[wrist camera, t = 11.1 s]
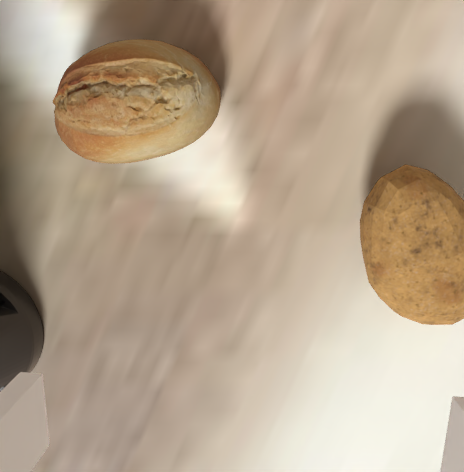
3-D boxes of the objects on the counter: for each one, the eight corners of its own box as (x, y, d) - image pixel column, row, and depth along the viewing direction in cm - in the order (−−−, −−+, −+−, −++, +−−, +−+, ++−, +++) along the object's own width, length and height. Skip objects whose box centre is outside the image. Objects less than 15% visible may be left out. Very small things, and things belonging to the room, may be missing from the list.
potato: (435, 144, 38) (478, 146, 30) (472, 283, 40) (521, 318, 33) (330, 181, 39) (346, 192, 31) (373, 313, 42) (397, 353, 34)
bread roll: (54, 75, 39) (2, 60, 31) (207, 31, 37) (192, 3, 29) (86, 175, 41) (44, 184, 33) (233, 138, 39) (224, 139, 31)
